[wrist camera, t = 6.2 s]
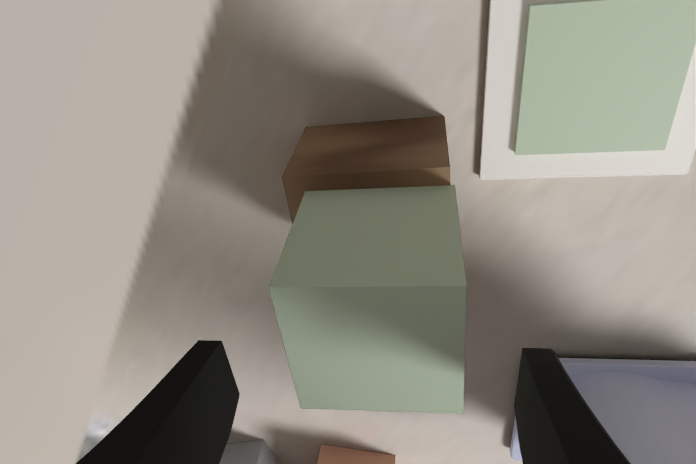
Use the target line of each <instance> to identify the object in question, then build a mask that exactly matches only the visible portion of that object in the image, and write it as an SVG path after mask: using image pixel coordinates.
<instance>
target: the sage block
mask: <svg viewBox="0 0 696 464" xmlns="http://www.w3.org/2000/svg"><path fill="white" fill-rule="evenodd" d="M269 291H270V294H271V298H272V302H273V306H274V310H275V313H276V317H277V321H278V325H279V328H280V332H281V336H282V340H283V344H284V347H285V351H286V355H287V359H288V362H289V366H290V370H291V374H292V377H293V381H294V385H295V389H296V393H297V396H298V400H299V404H300V408H303V409H334V410H365V411H396V412H427V413H458V414H463V405H464V369H465V333H466V297H467V283H466V275H465V267H464V258H463V250H462V242H461V233H460V225H459V217H458V208H457V200H456V192H455V185H446V186H422V187H397V188H373V189H348V190H324V191H305V193H304V196H303V198H302V201H301V204H300V206H299V209H298V212H297V214H296V217H295V219H294V222H293V225H292V227H291V230H290V233H289V235H288V238H287V240H286V243H285V246H284V248H283V251H282V254H281V256H280V259H279V262H278V264H277V267H276V269H275V272H274V275H273V277H272V280H271V283H270V285H269Z"/></svg>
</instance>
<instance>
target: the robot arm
mask: <svg viewBox="0 0 696 464" xmlns="http://www.w3.org/2000/svg"><path fill="white" fill-rule="evenodd" d="M238 399H239V391H238V388H237V385H236V382H235V379H234V376H233V373H232V370H231V367H230V364H229V361H228V358H227V355H226V352H225V349H224V346H223V343H222V341H203V340H199V341H198V342H197V343H196V344H195V345H194V346H193V347H192V348H191V349H190V350H189V351H188V352H187V353H186V354H185V355H184V356H183V357H182V359H181V360H180V361H179V362H178V363H177V364H176V365H175V366H174V367H173V368H172V369H171V370H170V372H169V373H168V374H167V375H166V376H165V377H164V378H163V379H162V380H161V381H160V382H159V383H158V384H157V385H156V387H155V388H154V389H153V390H152V391H151V392H150V393H149V394H148V395H147V396H146V397H145V398H144V399H143V400H142V401H141V402H140V403H139V404H138V405H137V406H136V407H135V408H134V409H133V410H132V411H131V412H130V413H129V414H128V415H127V416H126V417H125V418H124V419H123V420H122V421H121V422H120V423H119V424H118V425H117V426H116V427H115V428H114V429H113V430H112V431H111V432H110V433H109V434H108V435H107V436H106V437H105V438H104V439H103V440H101V441H100V442H99V443H98V444H97V445H96V446H95V447H94V448H93V449H92V450H91V451H90V452H88V453H87V454H86V455H85V456H84V457H83V458H82V459H81V460H79V461H78V462H77V463H76V464H219V463H220V460H221V458H222V455H223V452H224V449H225V447H226V444H227V441H228V438H229V435H230V432H231V428H232V424H233V420H234V416H235V412H236V408H237V403H238ZM514 407H515V419H514V426H513V432H512V439H511V446H510V453H511V457H512V458H513V459H515V460H518V461H523V464H696V361H670V360H629V359H588V358H558V357H557V355H556V353H555V352H554V351H553V350H552V349H542V348H522V355H521V362H520V369H519V376H518V383H517V390H516V397H515V404H514Z"/></svg>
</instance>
